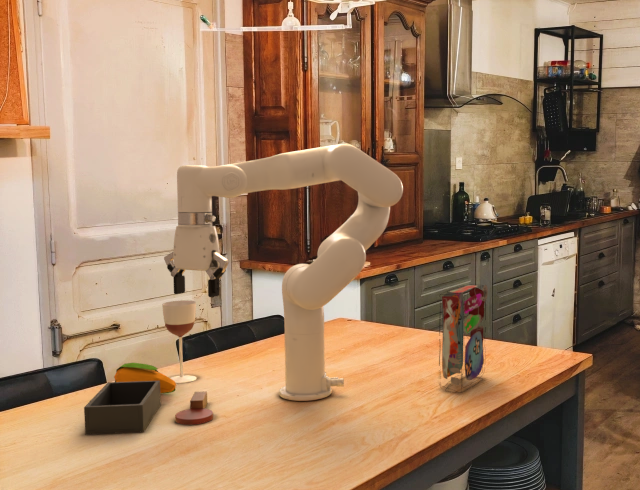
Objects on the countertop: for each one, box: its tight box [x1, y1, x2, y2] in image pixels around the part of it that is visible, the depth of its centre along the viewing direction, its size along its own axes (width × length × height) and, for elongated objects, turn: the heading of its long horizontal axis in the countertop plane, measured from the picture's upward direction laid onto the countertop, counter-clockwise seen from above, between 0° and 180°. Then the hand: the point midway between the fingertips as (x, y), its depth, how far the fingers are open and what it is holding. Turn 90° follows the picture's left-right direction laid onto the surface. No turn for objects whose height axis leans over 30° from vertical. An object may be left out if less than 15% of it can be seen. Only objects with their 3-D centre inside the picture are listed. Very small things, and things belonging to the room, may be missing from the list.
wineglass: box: [162, 299, 198, 384], centre depth 201 cm, size 8×9×20 cm
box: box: [438, 284, 489, 394], centre depth 198 cm, size 25×6×24 cm, turn 153°
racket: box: [174, 390, 214, 426], centre depth 173 cm, size 8×15×3 cm, turn 7°
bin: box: [83, 381, 162, 436], centre depth 169 cm, size 12×19×6 cm, turn 7°
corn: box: [113, 362, 177, 395], centre depth 188 cm, size 7×8×20 cm
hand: (196, 294), depth 177 cm, fingers open, 9 cm apart
